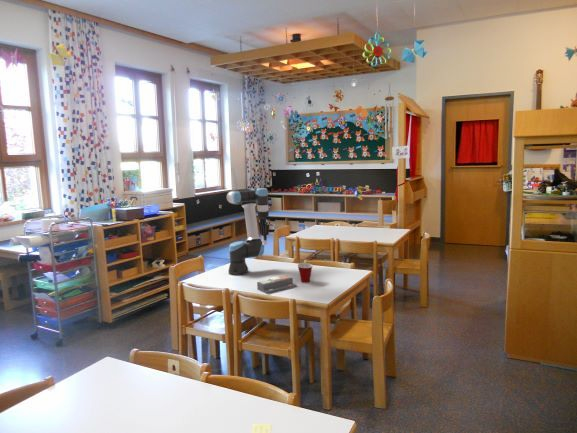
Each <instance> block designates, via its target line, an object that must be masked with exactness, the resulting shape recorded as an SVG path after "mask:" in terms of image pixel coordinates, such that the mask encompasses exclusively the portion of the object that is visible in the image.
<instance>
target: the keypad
mask: <svg viewBox="0 0 577 433" xmlns="http://www.w3.org/2000/svg"><path fill="white" fill-rule="evenodd" d="M289 277H290V278H289V279H285V280H282V279H281V281H277V282H272V281H271V282H272V283H268V284H262V283H259V282H260V281H257V282H256V283H257V284H256V285H257V286H256V288H257V290H258V291H260V292H262V293H263V294H265V295H266V294H267V295H269V294H273V293H277V292H281V291H285V290H289V289H293V288H296V287H298V285H297V283H294V279H293V277H291V276H289Z"/></svg>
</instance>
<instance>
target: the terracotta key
mask: <svg viewBox="0 0 577 433" xmlns="http://www.w3.org/2000/svg"><path fill="white" fill-rule="evenodd" d="M278 277H279V278H281V279H282V280H285V279H289V278H290V277H291V276H288V275H282V276H278Z"/></svg>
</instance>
